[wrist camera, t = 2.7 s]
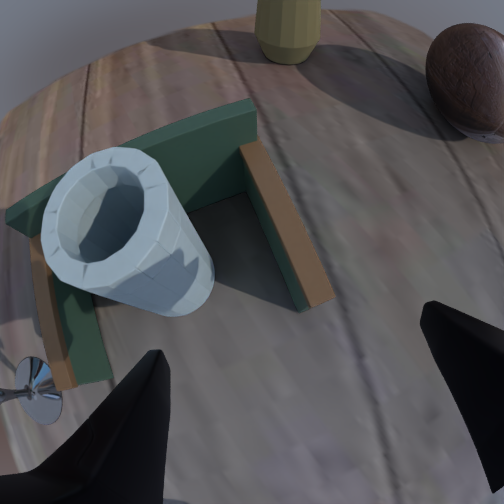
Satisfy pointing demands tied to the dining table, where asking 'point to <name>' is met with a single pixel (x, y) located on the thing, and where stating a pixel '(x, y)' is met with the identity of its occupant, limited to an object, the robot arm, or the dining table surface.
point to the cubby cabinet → (191, 198)
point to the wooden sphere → (469, 80)
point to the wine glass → (35, 391)
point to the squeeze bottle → (288, 29)
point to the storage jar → (126, 235)
